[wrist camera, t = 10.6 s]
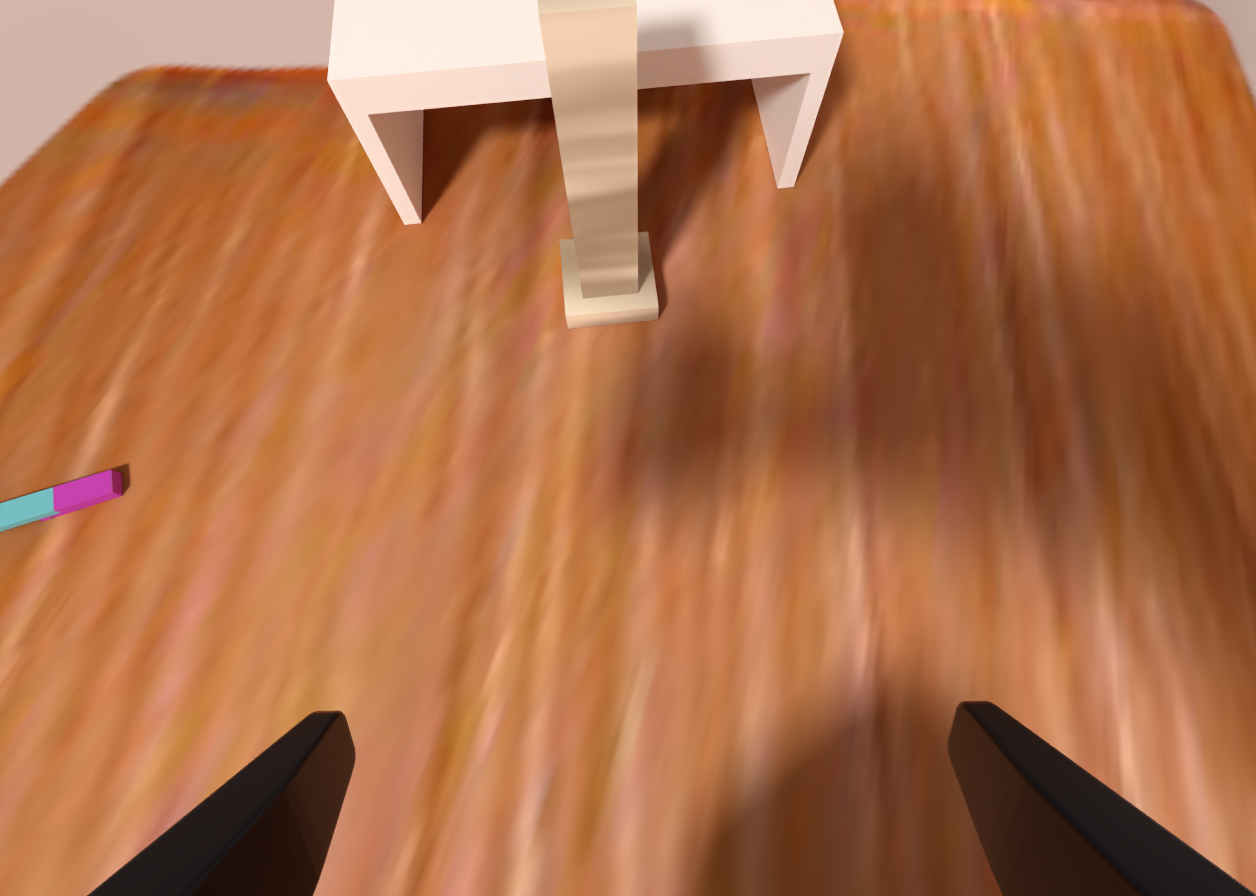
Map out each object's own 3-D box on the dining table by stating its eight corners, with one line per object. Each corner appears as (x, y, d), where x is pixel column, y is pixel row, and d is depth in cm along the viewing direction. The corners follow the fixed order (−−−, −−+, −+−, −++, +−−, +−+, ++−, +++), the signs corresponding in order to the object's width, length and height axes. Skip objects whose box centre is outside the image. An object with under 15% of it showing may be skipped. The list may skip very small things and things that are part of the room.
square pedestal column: (691, 316, 26) (736, 19, 14) (534, 332, 26) (443, 46, 14) (648, 52, 32) (654, -323, 20) (519, 65, 32) (444, -306, 20)
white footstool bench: (793, 187, 29) (843, 32, 22) (404, 224, 28) (327, 80, 21) (763, 67, 32) (799, -104, 24) (408, 101, 31) (340, -63, 24)
